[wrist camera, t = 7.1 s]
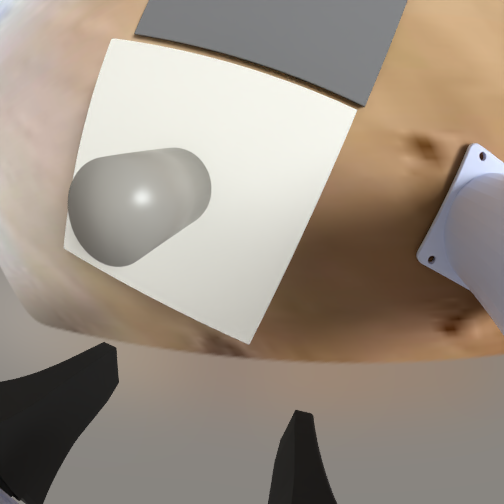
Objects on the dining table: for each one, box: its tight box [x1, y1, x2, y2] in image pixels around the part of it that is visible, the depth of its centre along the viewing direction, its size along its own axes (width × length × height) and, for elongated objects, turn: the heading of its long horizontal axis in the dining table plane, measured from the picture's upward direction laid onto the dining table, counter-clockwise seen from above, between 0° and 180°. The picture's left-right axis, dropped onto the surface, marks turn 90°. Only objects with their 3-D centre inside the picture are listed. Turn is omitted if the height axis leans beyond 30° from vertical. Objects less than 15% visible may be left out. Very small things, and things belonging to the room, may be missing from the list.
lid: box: [64, 38, 357, 344], centre depth 12 cm, size 12×12×6 cm
